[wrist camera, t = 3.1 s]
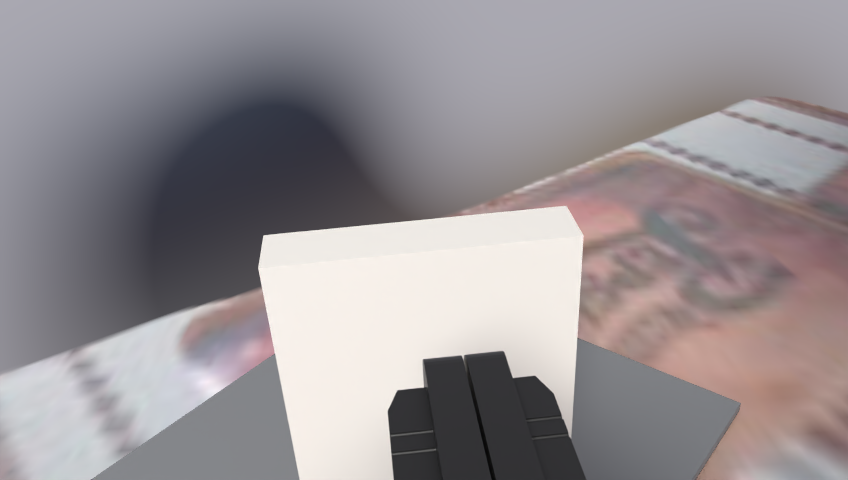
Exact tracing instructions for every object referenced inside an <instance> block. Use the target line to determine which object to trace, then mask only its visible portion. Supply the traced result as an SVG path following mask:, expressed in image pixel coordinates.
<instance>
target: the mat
mask: <svg viewBox="0 0 848 480" xmlns="http://www.w3.org/2000/svg"><path fill="white" fill-rule="evenodd" d="M740 404H741V403H739V402H736V401H734V400H731V399H729V398H726V397H724V396H721V395H719V394H716V393H714V392H711V391H709V390H706V389H704V388H701V387H699V386H696V385H694V384H691V383H689V382H686V381H684V380H681V379H679V378H676V377H674V376H671V375H669V374H666V373H664V372H661V371H659V370H656V369H654V368H651V367H649V366H646V365H644V364H641V363H639V362H636V361H634V360H631V359H629V358H626V357H624V356H621V355H619V354H616V353H614V352H611V351H609V350H606V349H604V348H601V347H599V346H596V345H594V344H591V343H589V342H586V341H584V340H581V339H579V338H577V351H576V368H575V384H574V401H573V418H572V434H571V440H572V443H573V446H574V448H575V451H576V454H577V456H578V459H579V462H580V464H581V467H582V469H583V472H584V475H585V477H586V480H696V478H697V477H698V475H699V474H700V472H701V470H702V469H703V467H704V466H705V464H706V462H707V461H708V459H709V458H710V456H711V455H712V453H713V451H714V450H715V448H716V447H717V445H718V443H719V442H720V440H721V439H722V437H723V436H724V434H725V432H726V431H727V429H728V428H729V426H730V424H731V423H732V421H733V420H734V418H735V416H736V415H737V413H738V412H739V409H740ZM91 480H300V479H299V474H298V469H297V464H296V458H295V453H294V448H293V443H292V438H291V433H290V428H289V423H288V417H287V412H286V407H285V402H284V397H283V392H282V387H281V382H280V376H279V371H278V366H277V361H276V356H275V354H274V355H272V356H271V357H269V358H268V359H266V360H265V361H263V362H262V363H260V364H259V365H258V366H256V367H255V368H253V369H252V370H250V371H249V372H247V373H246V374H244V375H243V376H241V377H240V378H239V379H237V380H236V381H234V382H233V383H231V384H230V385H228V386H227V387H225V388H224V389H223V390H221V391H220V392H218V393H217V394H215V395H214V396H212V397H211V398H209V399H208V400H206V401H205V402H204V403H202V404H201V405H199V406H198V407H196V408H195V409H193V410H192V411H190V412H189V413H188V414H186V415H185V416H183V417H182V418H180V419H179V420H177V421H176V422H174V423H173V424H171V425H170V426H169V427H167V428H166V429H164V430H163V431H161V432H160V433H158V434H157V435H155V436H154V437H152V438H151V439H150V440H148V441H147V442H145V443H144V444H142V445H141V446H139V447H138V448H136V449H135V450H134V451H132V452H131V453H129V454H128V455H126V456H125V457H123V458H122V459H120V460H119V461H117V462H116V463H115V464H113V465H112V466H110V467H109V468H107V469H106V470H104V471H103V472H101V473H100V474H99V475H97V476H96V477H94V478H93V479H91Z"/></svg>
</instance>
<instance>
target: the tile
mask: <svg viewBox="0 0 848 480" xmlns="http://www.w3.org/2000/svg"><path fill="white" fill-rule="evenodd" d="M582 250H583V234H582V232H581V231H580V229H579V227H578V225H577V224H576V222H575V220H574V218H573V217H572V215H571V213H570V211H569V210H568V208H567V206H560V207H550V208H540V209H529V210H519V211H509V212H499V213H488V214H478V215H468V216H458V217H448V218H437V219H427V220H417V221H407V222H397V223H386V224H378V225H377V224H376V225H366V226H355V227H345V228H335V229H325V230H314V231H304V232H294V233H284V234H274V235H264V237H263V243H262V249H261V255H260V261H259V267H258V269H259V274H260V279H261V284H262V289H263V294H264V299H265V305H266V310H267V315H268V320H269V325H270V330H271V335H272V341H273V346H274V351H275V356H276V361H277V366H278V371H279V376H280V382H281V387H282V392H283V397H284V402H285V407H286V412H287V417H288V423H289V428H290V433H291V438H292V443H293V448H294V453H295V458H296V464H297V469H298V474H299V479H300V480H394V478H393V467H392V455H391V444H390V433H389V422H388V409H389V407H390V405H391V403H392V401H393V398H394V396H395V394H396V392H397V390H404V389H414V388H424V381H423V359H429V358H439V357H449V356H458V355H462V358H463V360H464V355H467V354H476V353H486V352H496V351H504V353H505V355H506V358H507V361H508V365H509V368H510V371H511V374H512V377H513V378H517V377H527V376H536V377H537V378H538V379H539V380H540V381H541V382H542V383H543V384H544V385H545V386H547V387H548V388H549V389H550V390H551V391H552V392H553V393H554V396H555V398H556V401H557V404H558V406H559V409H560V411H561V414H562V419H564V422H565V425H566V427H567V430H568V434H569V437H570V438H571V434H572V418H573V401H574V384H575V368H576V351H577V334H578V317H579V301H580V284H581V267H582Z"/></svg>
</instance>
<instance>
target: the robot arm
mask: <svg viewBox="0 0 848 480" xmlns="http://www.w3.org/2000/svg"><path fill="white" fill-rule="evenodd" d="M423 381H424V388H414V389H404V390H397V392H396V394H395V396H394V398H393V401H392V403H391V405H390V407H389V409H388V422H389V433H390V444H391V455H392V467H393V478H394V480H586V477H585V475H584V472H583V469H582V467H581V464H580V462H579V459H578V456H577V454H576V451H575V448H574V446H573V443H572V440H571V438H570V437H569V434H568V430H567V427H566V425H565V422H564V419H562V414H561V411H560V409H559V406H558V404H557V401H556V398H555V396H554V393H553V392H552V391H551V390H550V389H549V388H548V387H547V386H545V385H544V384H543V383H542V382H541V381H540V380H539V379H538V378H537V377H536V376H527V377H517V378H513V377H512V374H511V371H510V368H509V365H508V361H507V358H506V355H505V353H504V351H496V352H486V353H476V354H467V355H464V360H463V358H462V355H458V356H449V357H439V358H429V359H423Z"/></svg>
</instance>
